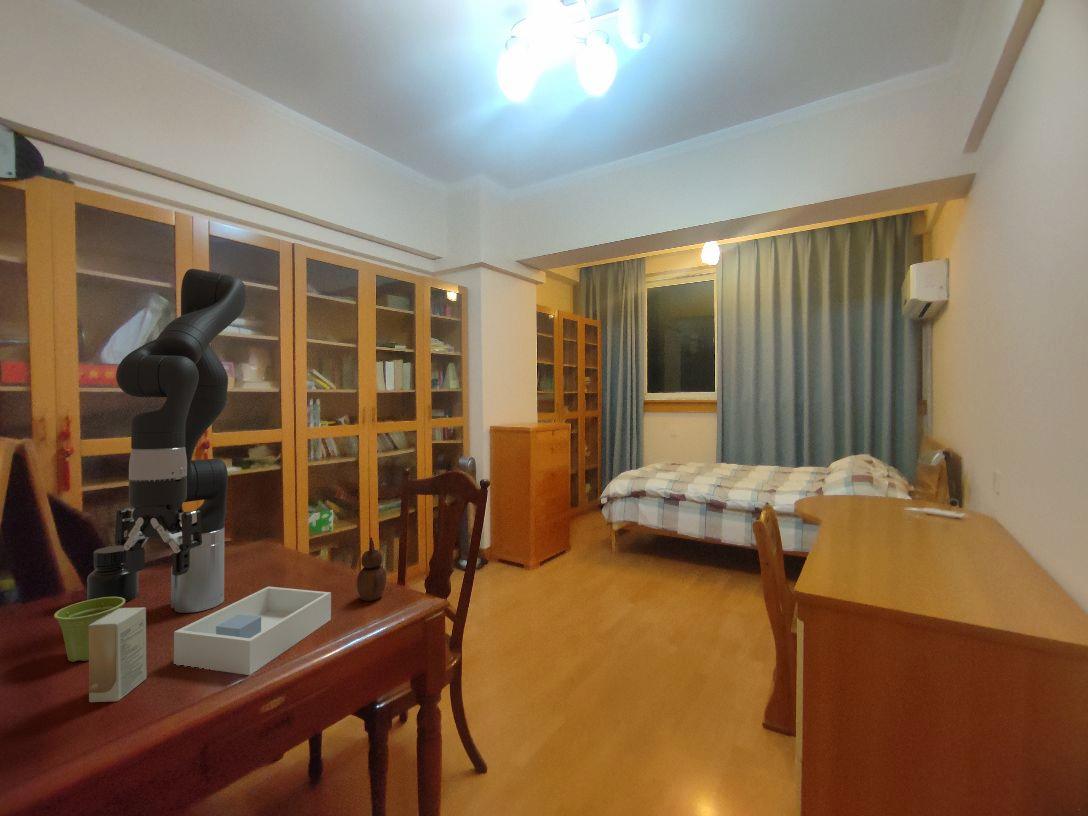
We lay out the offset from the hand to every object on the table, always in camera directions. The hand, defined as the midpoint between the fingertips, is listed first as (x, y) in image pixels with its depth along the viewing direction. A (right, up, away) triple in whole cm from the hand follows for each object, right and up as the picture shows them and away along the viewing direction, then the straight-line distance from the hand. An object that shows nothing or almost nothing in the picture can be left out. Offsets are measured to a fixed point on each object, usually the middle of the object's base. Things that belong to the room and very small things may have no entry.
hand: (158, 572), depth 79 cm
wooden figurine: (+23, -18, +34) cm, 45 cm away
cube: (+8, -17, +9) cm, 21 cm away
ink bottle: (-37, -18, +32) cm, 52 cm away
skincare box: (-4, -18, -3) cm, 19 cm away
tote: (+9, -18, +14) cm, 24 cm away
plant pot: (-19, -18, +8) cm, 27 cm away
